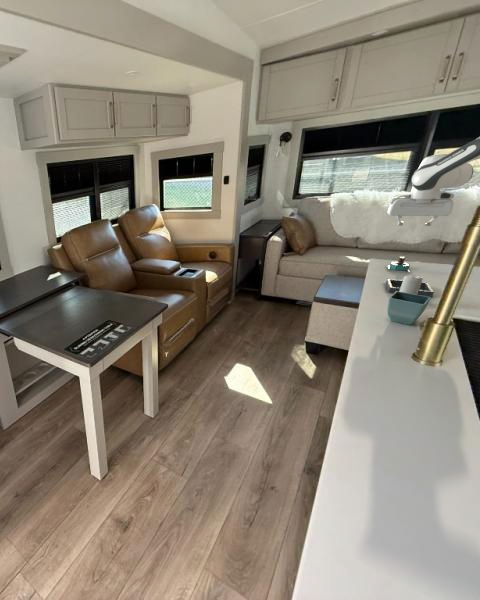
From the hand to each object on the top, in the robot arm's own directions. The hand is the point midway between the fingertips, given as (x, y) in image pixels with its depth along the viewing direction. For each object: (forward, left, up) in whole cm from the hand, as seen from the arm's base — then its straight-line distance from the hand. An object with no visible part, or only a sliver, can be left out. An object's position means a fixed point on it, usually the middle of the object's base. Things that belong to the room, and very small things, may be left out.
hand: (413, 225), depth 146 cm
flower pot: (+5, +65, -22) cm, 69 cm away
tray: (0, +31, -21) cm, 38 cm away
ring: (0, +1, -21) cm, 21 cm away
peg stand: (0, +1, -21) cm, 21 cm away
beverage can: (+3, +50, -22) cm, 55 cm away
